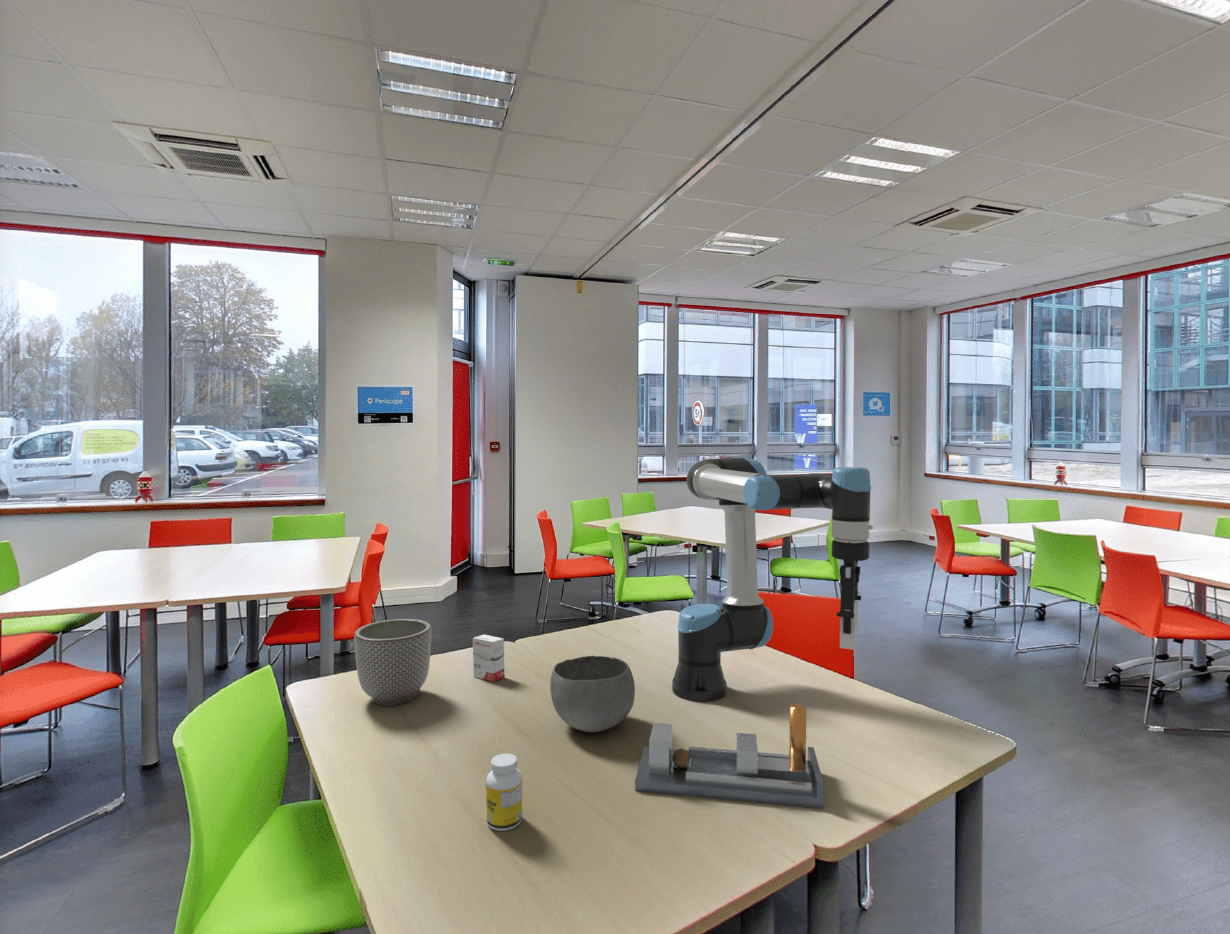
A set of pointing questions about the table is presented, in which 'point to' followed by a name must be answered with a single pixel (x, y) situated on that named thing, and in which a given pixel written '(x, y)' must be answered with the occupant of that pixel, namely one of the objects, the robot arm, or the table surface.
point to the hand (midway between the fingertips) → (849, 638)
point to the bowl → (592, 692)
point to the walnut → (681, 758)
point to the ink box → (488, 657)
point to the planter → (393, 659)
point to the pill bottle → (504, 793)
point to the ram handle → (776, 767)
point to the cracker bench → (720, 775)
